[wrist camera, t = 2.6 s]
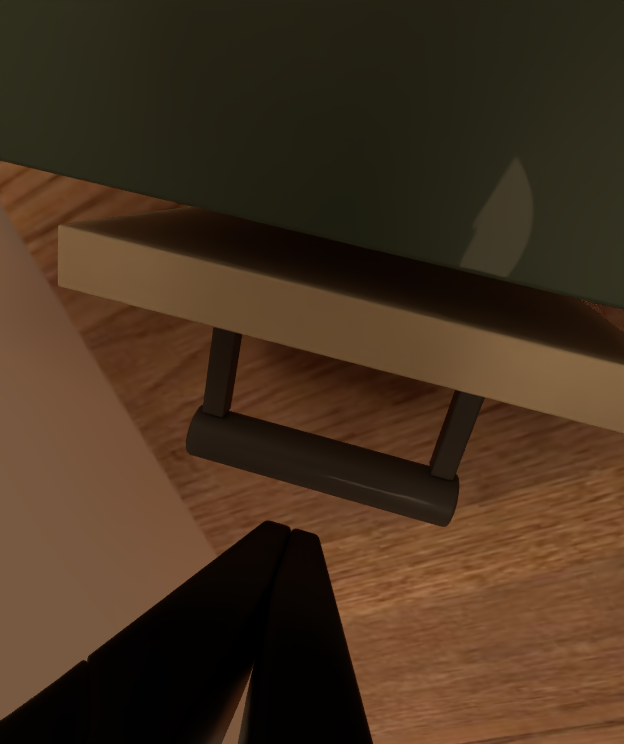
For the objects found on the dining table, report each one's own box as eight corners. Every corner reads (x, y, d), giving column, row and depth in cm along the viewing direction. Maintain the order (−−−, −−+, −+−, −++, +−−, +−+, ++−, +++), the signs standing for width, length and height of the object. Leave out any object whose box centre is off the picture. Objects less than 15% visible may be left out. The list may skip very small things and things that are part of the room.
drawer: (499, 455, 17) (554, 633, 11) (185, 371, 18) (55, 483, 12) (810, -297, 10) (1564, -1187, 4) (270, -367, 11) (62, -1161, 5)
